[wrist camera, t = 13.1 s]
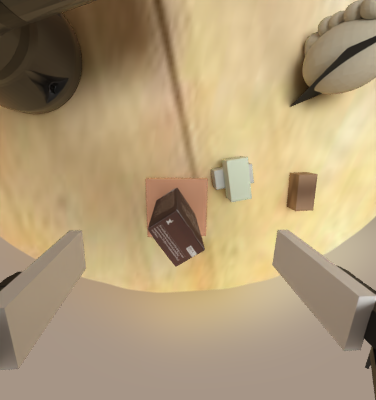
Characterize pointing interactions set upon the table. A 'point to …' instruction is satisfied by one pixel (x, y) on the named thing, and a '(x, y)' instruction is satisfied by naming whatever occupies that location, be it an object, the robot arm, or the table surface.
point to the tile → (189, 188)
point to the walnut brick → (301, 191)
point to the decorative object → (341, 52)
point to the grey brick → (219, 177)
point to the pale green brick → (237, 178)
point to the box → (176, 228)
